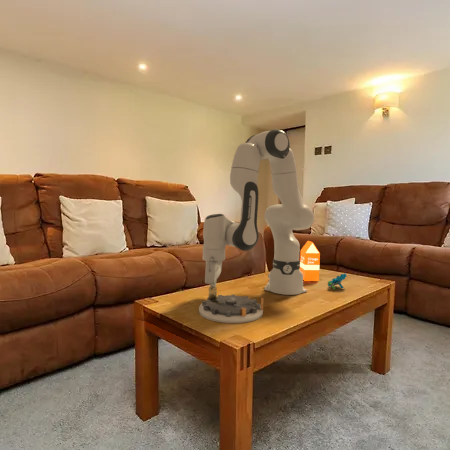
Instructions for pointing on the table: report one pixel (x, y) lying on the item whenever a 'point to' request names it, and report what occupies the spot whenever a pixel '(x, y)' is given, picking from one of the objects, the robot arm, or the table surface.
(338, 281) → the teal green toy figure
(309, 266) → the orange juice
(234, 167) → the robot arm
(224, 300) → the sprocket
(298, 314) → the table surface
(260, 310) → the sprocket base
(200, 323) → the table surface
